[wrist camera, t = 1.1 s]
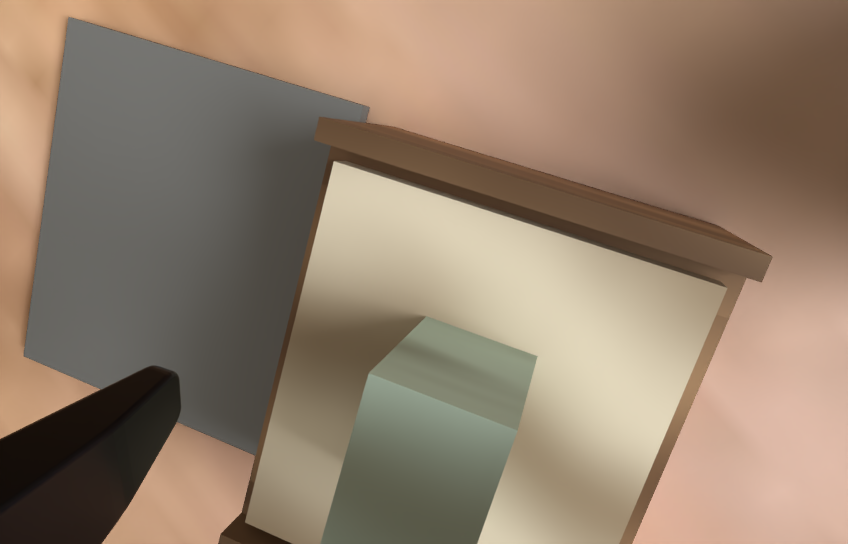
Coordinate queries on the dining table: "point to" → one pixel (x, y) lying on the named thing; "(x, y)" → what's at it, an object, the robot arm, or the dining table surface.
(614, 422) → the cover plate
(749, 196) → the dining table surface
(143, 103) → the rubber mat
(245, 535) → the walnut box
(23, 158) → the dining table surface
